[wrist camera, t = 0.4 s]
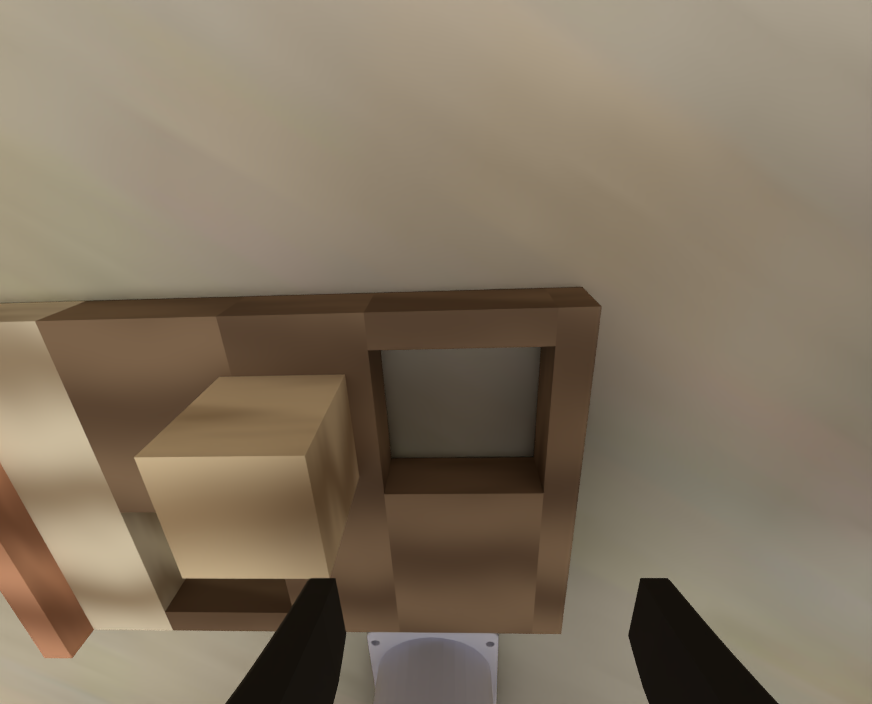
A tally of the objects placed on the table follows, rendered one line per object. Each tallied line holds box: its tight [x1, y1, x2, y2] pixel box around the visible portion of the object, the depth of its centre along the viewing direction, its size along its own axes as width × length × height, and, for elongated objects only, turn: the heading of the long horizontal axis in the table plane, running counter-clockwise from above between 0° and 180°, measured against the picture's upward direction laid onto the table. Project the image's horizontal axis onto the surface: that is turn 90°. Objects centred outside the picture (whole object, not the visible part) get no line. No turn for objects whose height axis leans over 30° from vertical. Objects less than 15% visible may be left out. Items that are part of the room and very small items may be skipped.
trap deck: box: [0, 287, 602, 658], centre depth 20 cm, size 18×27×4 cm, turn 92°
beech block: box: [134, 375, 359, 579], centre depth 16 cm, size 5×5×5 cm
